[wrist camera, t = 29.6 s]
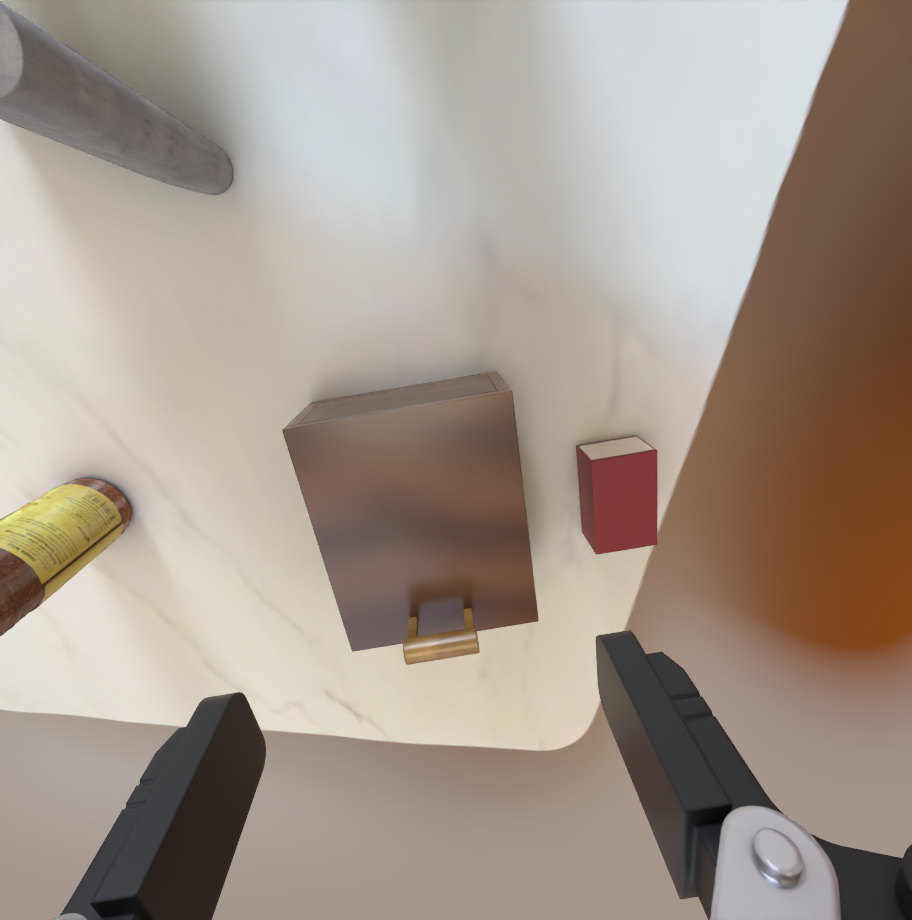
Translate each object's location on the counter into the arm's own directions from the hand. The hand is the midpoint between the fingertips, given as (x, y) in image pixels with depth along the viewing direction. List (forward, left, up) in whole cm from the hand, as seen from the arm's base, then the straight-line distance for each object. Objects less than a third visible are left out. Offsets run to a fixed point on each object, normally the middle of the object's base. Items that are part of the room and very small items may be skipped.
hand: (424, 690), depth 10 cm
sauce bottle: (-16, -27, -30) cm, 43 cm away
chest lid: (+5, -7, -23) cm, 25 cm away
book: (+18, +4, -30) cm, 35 cm away
